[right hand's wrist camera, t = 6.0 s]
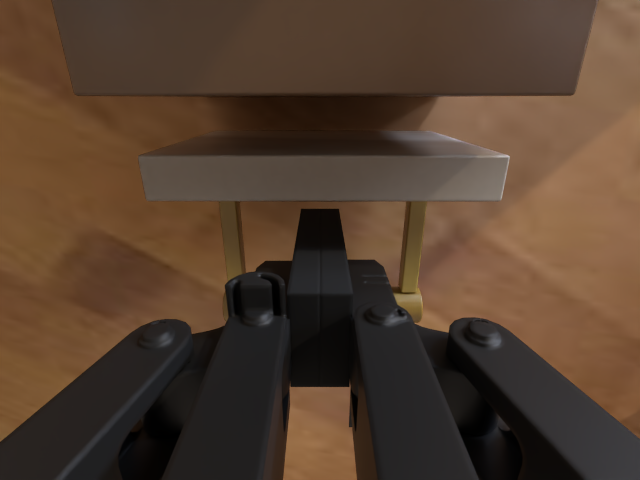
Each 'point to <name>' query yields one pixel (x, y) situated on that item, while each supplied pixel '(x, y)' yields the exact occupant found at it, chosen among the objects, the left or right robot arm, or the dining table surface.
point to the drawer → (325, 179)
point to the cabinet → (324, 47)
